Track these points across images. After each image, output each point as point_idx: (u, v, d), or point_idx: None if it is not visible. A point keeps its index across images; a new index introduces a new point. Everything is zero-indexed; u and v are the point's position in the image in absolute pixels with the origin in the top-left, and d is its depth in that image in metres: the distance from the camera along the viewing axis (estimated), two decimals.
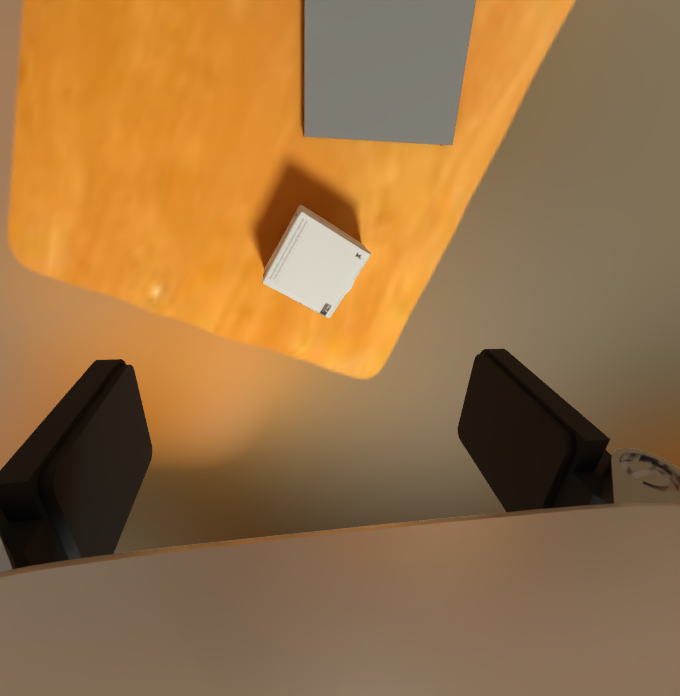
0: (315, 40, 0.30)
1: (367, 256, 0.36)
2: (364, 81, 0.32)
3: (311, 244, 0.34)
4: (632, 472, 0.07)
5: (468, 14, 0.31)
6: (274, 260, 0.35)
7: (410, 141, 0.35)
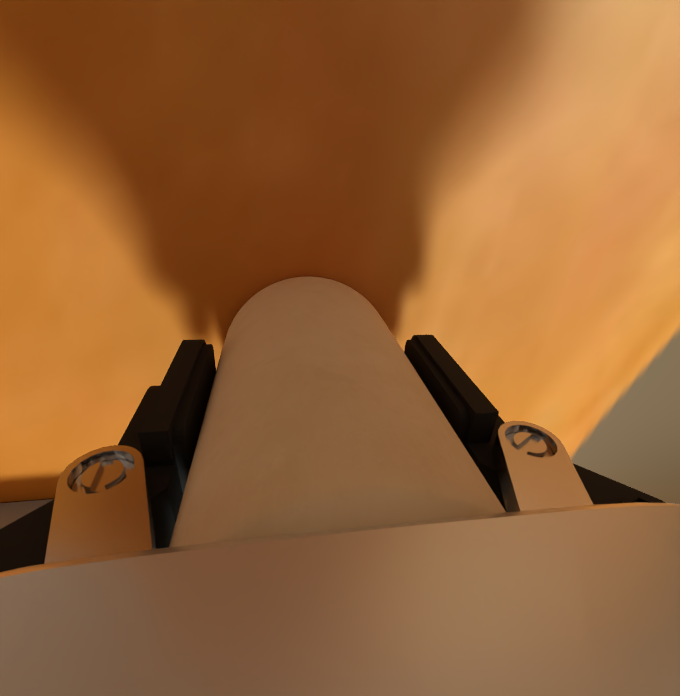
0: None
1: None
2: None
3: None
4: (517, 445, 0.07)
5: None
6: None
7: None
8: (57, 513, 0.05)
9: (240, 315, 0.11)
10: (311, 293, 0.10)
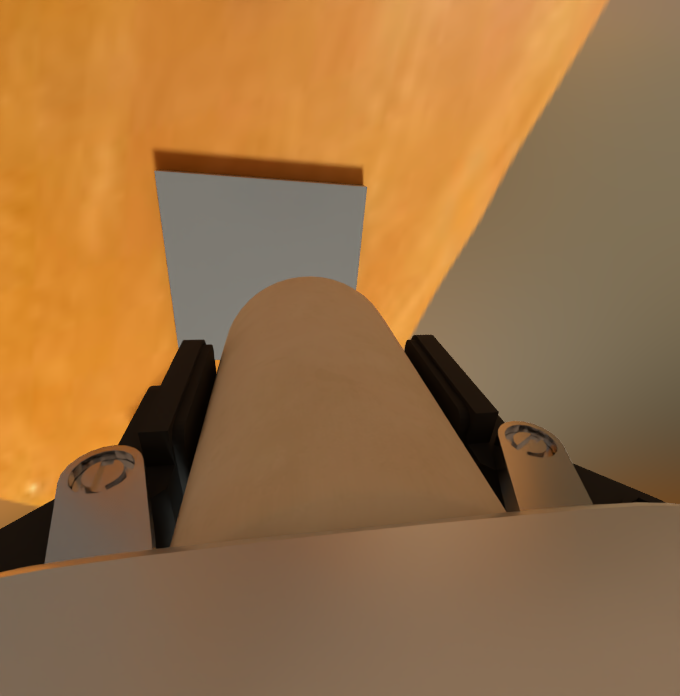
0: (181, 279, 0.27)
1: None
2: None
3: None
4: (517, 445, 0.07)
5: (354, 250, 0.28)
6: None
7: None
8: (57, 513, 0.05)
9: (241, 315, 0.11)
10: (312, 293, 0.10)
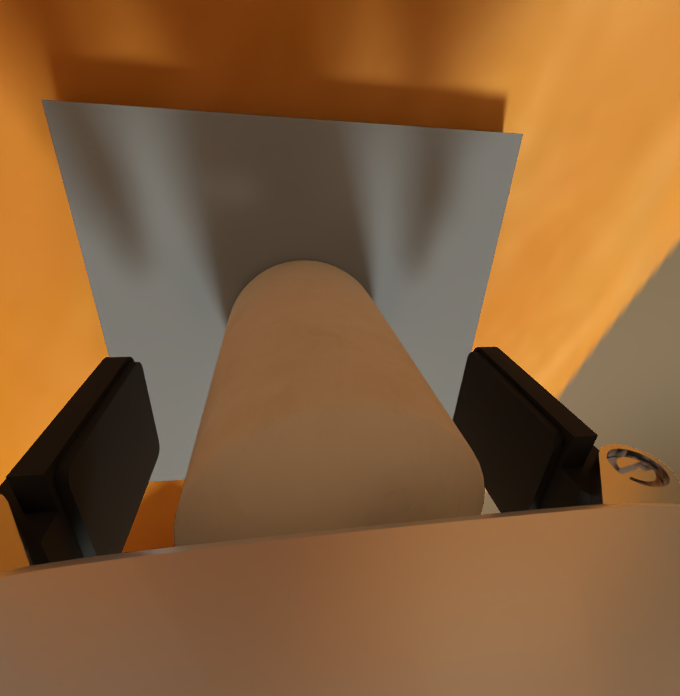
0: (131, 341, 0.13)
1: None
2: None
3: None
4: (619, 468, 0.07)
5: (479, 269, 0.14)
6: None
7: None
8: None
9: (243, 294, 0.12)
10: (307, 273, 0.11)
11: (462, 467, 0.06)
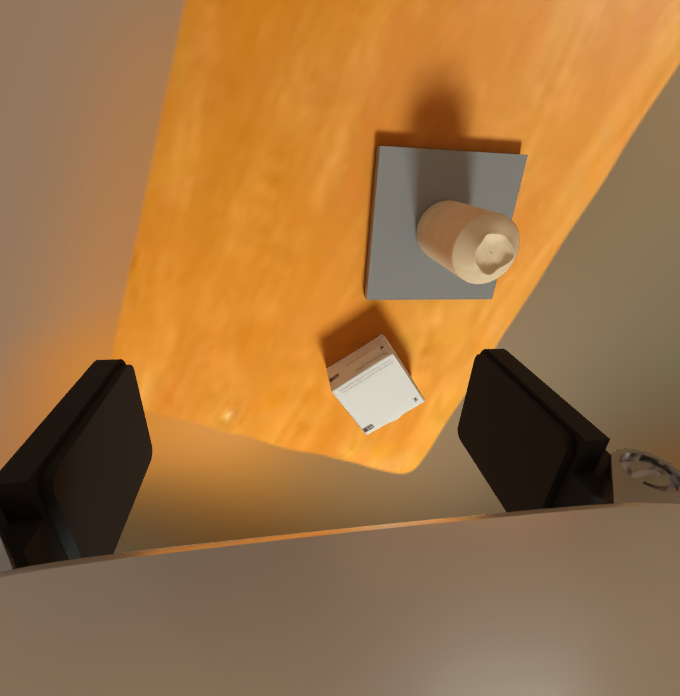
0: (381, 231, 0.36)
1: (421, 402, 0.41)
2: (420, 258, 0.37)
3: (385, 379, 0.39)
4: (632, 472, 0.07)
5: (510, 206, 0.36)
6: (351, 379, 0.39)
7: (456, 298, 0.40)
8: None
9: (429, 210, 0.34)
10: (455, 202, 0.34)
11: (515, 229, 0.28)
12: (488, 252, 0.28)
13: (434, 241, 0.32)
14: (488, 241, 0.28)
